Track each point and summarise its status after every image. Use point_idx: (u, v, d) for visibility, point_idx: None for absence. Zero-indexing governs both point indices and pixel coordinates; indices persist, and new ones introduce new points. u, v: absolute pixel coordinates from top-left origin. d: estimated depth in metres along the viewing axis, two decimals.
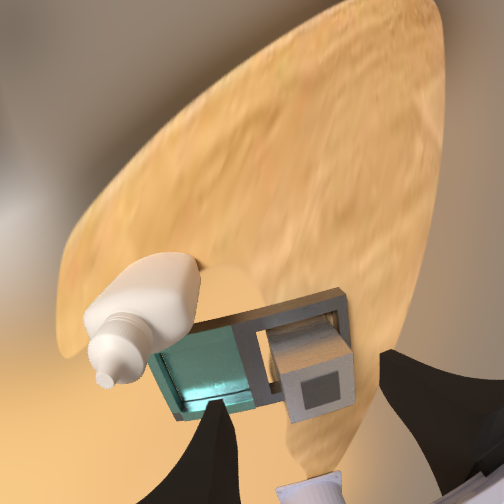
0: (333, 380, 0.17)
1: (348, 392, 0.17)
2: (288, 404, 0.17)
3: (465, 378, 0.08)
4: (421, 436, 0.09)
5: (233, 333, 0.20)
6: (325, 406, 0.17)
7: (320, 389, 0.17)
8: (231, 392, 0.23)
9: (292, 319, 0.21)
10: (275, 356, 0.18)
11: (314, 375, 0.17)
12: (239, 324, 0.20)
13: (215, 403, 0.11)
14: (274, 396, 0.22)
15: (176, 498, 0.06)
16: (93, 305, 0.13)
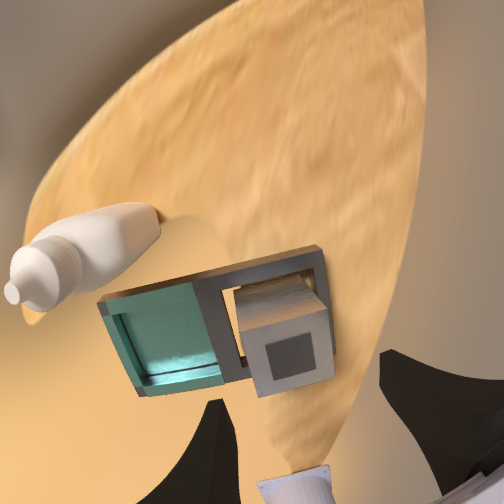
0: (305, 344, 0.15)
1: (325, 361, 0.15)
2: (252, 372, 0.15)
3: (465, 378, 0.08)
4: (421, 436, 0.09)
5: (194, 291, 0.18)
6: (298, 377, 0.16)
7: (289, 354, 0.15)
8: (198, 365, 0.21)
9: (261, 276, 0.19)
10: (238, 315, 0.16)
11: (281, 335, 0.15)
12: (201, 281, 0.18)
13: (215, 403, 0.11)
14: (245, 371, 0.20)
15: (177, 498, 0.06)
16: None
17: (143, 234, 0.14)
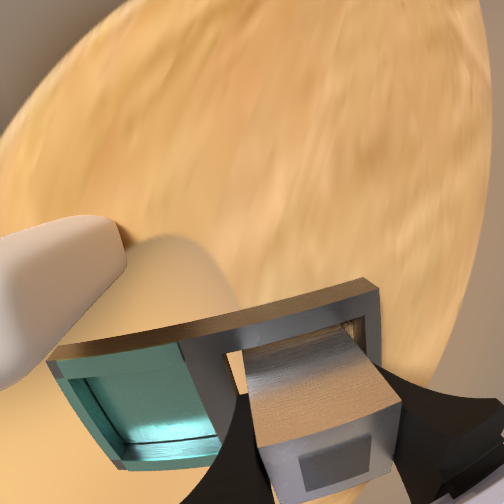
0: (360, 449, 0.08)
1: (382, 460, 0.08)
2: (275, 486, 0.08)
3: (437, 394, 0.08)
4: None
5: (182, 356, 0.11)
6: (341, 483, 0.08)
7: (335, 464, 0.08)
8: (193, 437, 0.14)
9: (286, 333, 0.12)
10: (252, 405, 0.09)
11: (327, 444, 0.08)
12: (191, 341, 0.11)
13: (245, 397, 0.11)
14: None
15: (223, 494, 0.06)
16: None
17: (80, 281, 0.07)
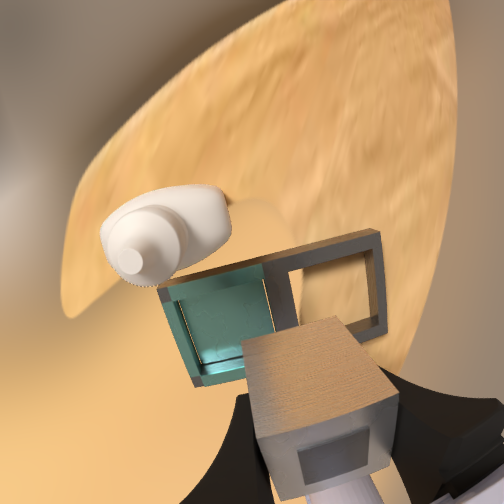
0: (358, 441, 0.08)
1: (381, 453, 0.08)
2: (274, 479, 0.08)
3: (437, 394, 0.08)
4: (393, 449, 0.09)
5: (263, 273, 0.19)
6: (339, 476, 0.09)
7: (333, 456, 0.08)
8: None
9: (326, 257, 0.19)
10: (251, 397, 0.09)
11: (325, 436, 0.08)
12: (270, 262, 0.19)
13: (245, 397, 0.11)
14: None
15: (223, 494, 0.06)
16: (114, 211, 0.11)
17: None
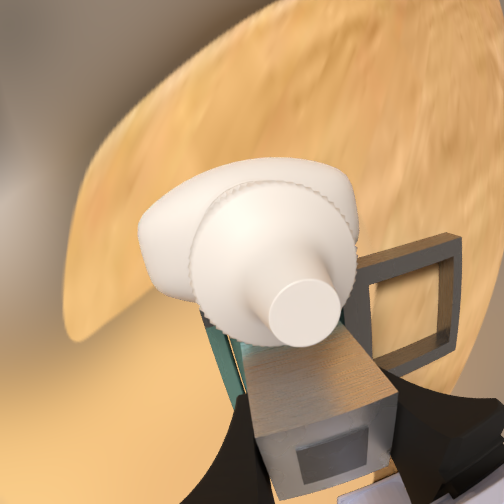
0: (357, 441, 0.08)
1: (380, 453, 0.08)
2: (273, 479, 0.08)
3: (437, 394, 0.08)
4: (393, 449, 0.09)
5: None
6: (338, 476, 0.09)
7: (333, 455, 0.08)
8: None
9: (410, 267, 0.14)
10: (250, 396, 0.09)
11: (324, 435, 0.08)
12: None
13: (245, 397, 0.11)
14: None
15: (223, 494, 0.06)
16: (168, 193, 0.07)
17: None
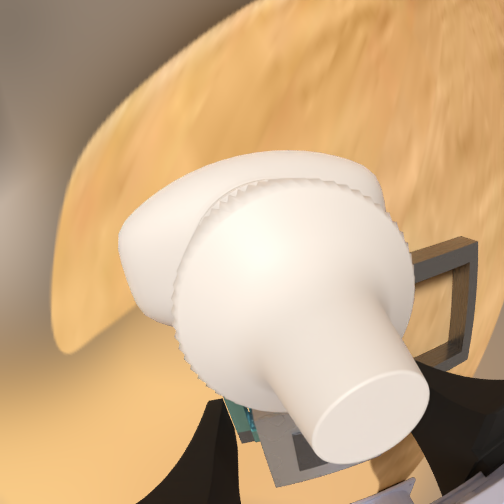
0: None
1: None
2: (270, 464, 0.09)
3: (465, 378, 0.08)
4: (421, 436, 0.09)
5: None
6: None
7: None
8: None
9: (426, 274, 0.13)
10: None
11: None
12: None
13: (215, 403, 0.11)
14: None
15: (176, 498, 0.06)
16: (154, 195, 0.05)
17: None
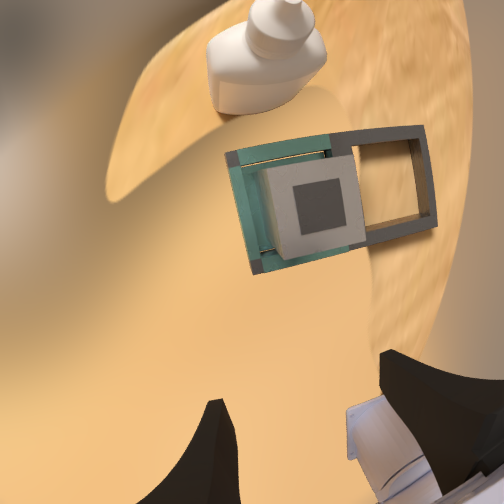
0: (334, 192, 0.14)
1: (355, 217, 0.15)
2: (279, 222, 0.14)
3: (465, 378, 0.08)
4: (421, 436, 0.09)
5: (330, 143, 0.18)
6: (327, 235, 0.15)
7: (319, 200, 0.14)
8: None
9: (383, 138, 0.19)
10: (262, 170, 0.16)
11: (310, 177, 0.14)
12: (336, 134, 0.18)
13: (215, 403, 0.11)
14: (368, 236, 0.20)
15: (177, 498, 0.06)
16: (226, 29, 0.11)
17: None
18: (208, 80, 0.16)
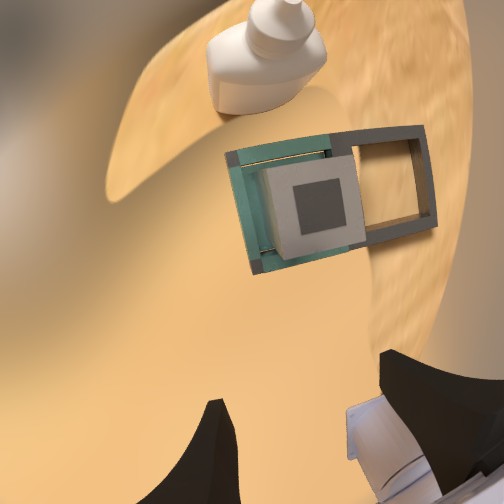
0: (334, 192, 0.14)
1: (355, 217, 0.15)
2: (279, 222, 0.14)
3: (465, 378, 0.08)
4: (421, 436, 0.09)
5: (330, 143, 0.18)
6: (327, 235, 0.15)
7: (319, 200, 0.14)
8: None
9: (383, 138, 0.19)
10: (262, 170, 0.16)
11: (310, 177, 0.14)
12: (336, 134, 0.18)
13: (215, 403, 0.11)
14: (368, 236, 0.20)
15: (177, 498, 0.06)
16: (226, 29, 0.11)
17: None
18: (208, 80, 0.16)
